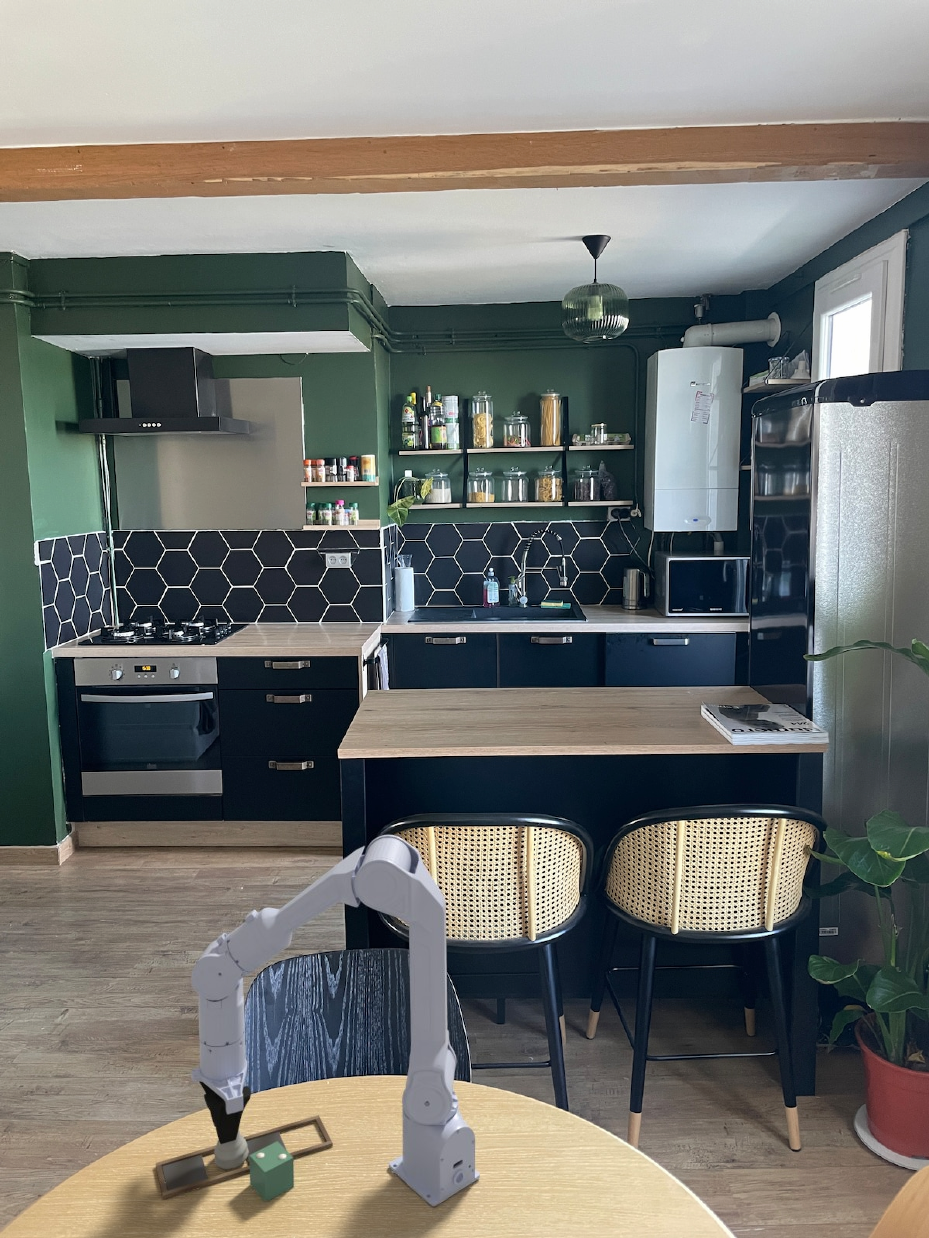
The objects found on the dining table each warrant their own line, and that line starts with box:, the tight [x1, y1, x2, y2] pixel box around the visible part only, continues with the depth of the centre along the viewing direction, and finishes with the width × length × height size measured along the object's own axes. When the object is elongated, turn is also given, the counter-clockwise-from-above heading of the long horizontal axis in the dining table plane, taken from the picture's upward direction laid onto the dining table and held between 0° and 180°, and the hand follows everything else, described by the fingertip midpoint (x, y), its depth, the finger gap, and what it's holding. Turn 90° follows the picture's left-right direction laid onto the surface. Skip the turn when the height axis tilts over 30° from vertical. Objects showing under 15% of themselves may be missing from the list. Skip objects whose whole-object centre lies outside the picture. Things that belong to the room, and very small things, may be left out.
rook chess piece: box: [213, 1130, 249, 1171], centre depth 120 cm, size 4×4×8 cm
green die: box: [249, 1141, 295, 1203], centre depth 116 cm, size 4×4×4 cm
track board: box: [155, 1114, 334, 1200], centre depth 122 cm, size 22×6×1 cm, turn 116°
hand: (224, 1131), depth 120 cm, fingers closed on rook chess piece, 3 cm apart
